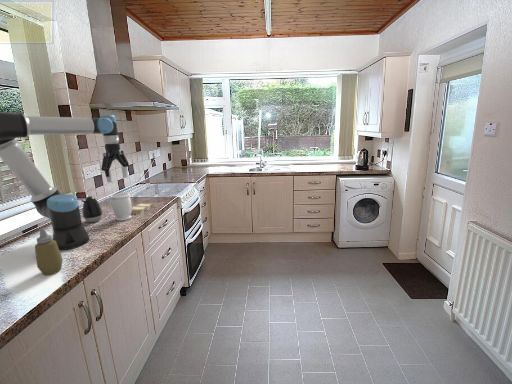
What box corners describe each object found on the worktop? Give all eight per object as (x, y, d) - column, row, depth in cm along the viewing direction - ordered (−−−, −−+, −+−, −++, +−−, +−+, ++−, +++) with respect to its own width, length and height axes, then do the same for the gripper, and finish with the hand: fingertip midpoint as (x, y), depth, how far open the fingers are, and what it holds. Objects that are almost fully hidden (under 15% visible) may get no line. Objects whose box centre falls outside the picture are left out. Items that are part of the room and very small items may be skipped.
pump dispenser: (79, 223, 161) (74, 198, 157) (95, 217, 170) (90, 193, 167) (92, 224, 157) (87, 199, 154) (107, 218, 167) (103, 194, 163)
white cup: (112, 222, 160) (108, 197, 157) (116, 217, 170) (112, 193, 166) (131, 220, 163) (128, 196, 159) (134, 215, 173) (131, 192, 169)
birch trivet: (140, 213, 174) (140, 210, 174) (128, 213, 176) (127, 209, 176) (152, 207, 188) (152, 203, 187) (141, 206, 189) (140, 203, 189)
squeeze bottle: (34, 274, 105) (23, 231, 100) (55, 264, 112) (46, 223, 108) (48, 278, 102) (37, 233, 97) (69, 267, 109) (60, 225, 105)
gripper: (101, 144, 143) (108, 184, 148) (131, 141, 167) (136, 175, 172) (89, 145, 144) (96, 184, 150) (120, 141, 168) (126, 175, 173)
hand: (117, 179), depth 161 cm, fingers open, 13 cm apart
